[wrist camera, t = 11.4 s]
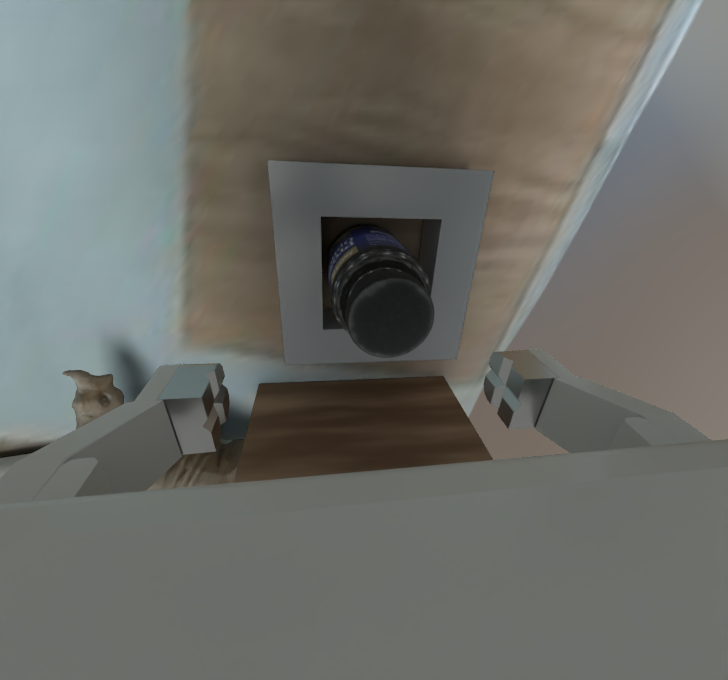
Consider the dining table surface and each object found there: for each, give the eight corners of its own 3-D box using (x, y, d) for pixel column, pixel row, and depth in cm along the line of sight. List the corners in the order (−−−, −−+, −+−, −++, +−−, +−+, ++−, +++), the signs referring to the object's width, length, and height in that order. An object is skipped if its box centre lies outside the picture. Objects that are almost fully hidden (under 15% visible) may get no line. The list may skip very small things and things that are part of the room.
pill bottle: (333, 216, 25) (344, 251, 15) (409, 230, 26) (465, 272, 16) (321, 293, 27) (325, 364, 18) (391, 303, 29) (430, 374, 19)
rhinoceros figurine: (247, 503, 35) (104, 618, 20) (174, 406, 37) (-2, 444, 23) (296, 456, 33) (181, 542, 19) (217, 358, 36) (60, 367, 21)
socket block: (274, 160, 23) (267, 160, 19) (468, 169, 24) (494, 170, 21) (288, 340, 29) (284, 364, 26) (440, 337, 31) (456, 359, 27)
